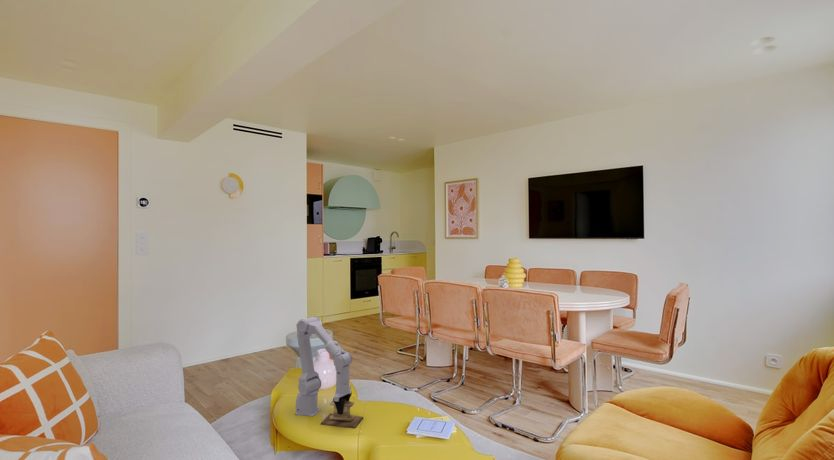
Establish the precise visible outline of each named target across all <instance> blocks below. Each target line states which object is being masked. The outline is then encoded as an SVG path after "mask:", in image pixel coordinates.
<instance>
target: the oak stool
mask: <svg viewBox="0 0 834 460" xmlns="http://www.w3.org/2000/svg"><path fill="white" fill-rule="evenodd" d="M354 405H355V401H353V400H349V401H345V404H344V410H343V414H342V415H341V414H338V413H337V409H336V405H335V403H334V402H333V400H332V401H330V402H329V406H333V413H332V415H331V416H330V419H334V420H343V421H352V419H353V418H354V416H355V415H354V414H351V408H352V407H353V406H354Z"/></svg>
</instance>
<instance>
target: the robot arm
mask: <svg viewBox="0 0 834 460" xmlns="http://www.w3.org/2000/svg"><path fill="white" fill-rule="evenodd" d="M295 326H296V332H297V335H296V336H297V344H298V352H299V357H300V365H301V371H302V372H301V375H300V377H299V378H298V386H297V389H298V393H297V395H296V398H295V413H294V415H298V416H306V417H314V416H316V415H317V414H318V413H319V412H320V411H321V408H320V407H318V400H319V399H318V398H319V395H318V393H319V392H320V389H321V387H322V380H321V378H320V376H319V372H317V371H315V366H314V360H313V353H312V347H311V340H310V339H311V338H310V337H311V336H312V335H313V334H314V335H316V337H318V339H319V340H320V341H321V342H322V343H323V344H324V345H325V350H326V352H327V353H328V355H330V357H331V358H332V359H333V365H334V367H335V371H336V372H335V373H336V374H335V375H336V376H335V377H336V378H335V387H336V390H335V392H334V396H333V398H332V401H333V402H334V403H335V405H336V409H337V413H338V414H341V415H342V414H343V410H344V404H345V401H350V399H351V396H352V395H353V394H352V393H353V392H352V389H351V387H352V385H350V365H351V364H352V362H353V357H352V355H351V353H350V352H349V351H346V350H344V349H343V348H342V347H341V346H340V344H339V342H338V341H336V340H333V339H332V337H330V335H329V334H328V332H327V331H326V329H325V328H324V326H323V322H322V321H321V319H320V318H319V316H311V317H307V318H306V317H305V318H301V319H299V321H297V322H296V325H295Z"/></svg>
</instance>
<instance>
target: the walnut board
mask: <svg viewBox="0 0 834 460" xmlns="http://www.w3.org/2000/svg"><path fill="white" fill-rule="evenodd" d="M332 414H333V413H329V414H328V415H327V416H326V417H325V418H324V419H323V420H322V421H321V422H320V425H321V426H329V427H340V428H346V429H347V428H350V429H356V428H357V427H358V426H359V424H361V422H362V420H364V416H362V415H361V416H360V415H354V418H353V419H352V421H343V420H334V419H330V416H331V415H332Z"/></svg>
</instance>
